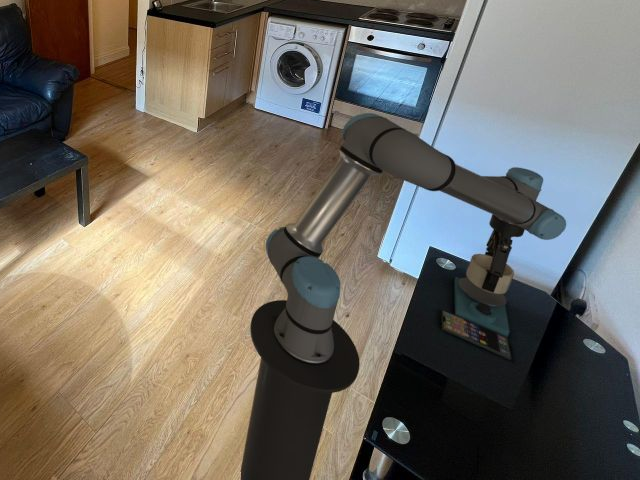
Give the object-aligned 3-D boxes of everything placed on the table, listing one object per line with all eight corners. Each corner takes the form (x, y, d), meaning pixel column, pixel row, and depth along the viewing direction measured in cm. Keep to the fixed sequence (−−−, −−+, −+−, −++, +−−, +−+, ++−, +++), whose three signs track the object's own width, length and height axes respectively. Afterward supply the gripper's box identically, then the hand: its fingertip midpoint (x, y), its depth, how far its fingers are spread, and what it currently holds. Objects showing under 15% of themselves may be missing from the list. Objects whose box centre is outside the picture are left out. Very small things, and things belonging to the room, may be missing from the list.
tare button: (490, 316, 118) (491, 312, 117) (476, 311, 119) (478, 307, 119) (489, 310, 120) (490, 306, 120) (476, 305, 122) (477, 301, 121)
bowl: (466, 284, 124) (472, 266, 122) (465, 267, 132) (471, 249, 130) (508, 300, 119) (516, 281, 117) (504, 281, 126) (512, 263, 124)
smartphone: (510, 360, 108) (512, 356, 108) (441, 330, 116) (442, 327, 116) (506, 339, 114) (507, 336, 114) (441, 312, 123) (442, 309, 122)
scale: (507, 337, 115) (511, 327, 114) (454, 315, 122) (458, 306, 121) (501, 298, 129) (504, 290, 128) (454, 281, 136) (457, 272, 134)
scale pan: (458, 294, 125) (459, 293, 125) (458, 273, 134) (458, 272, 134) (508, 313, 119) (508, 312, 119) (504, 290, 128) (504, 289, 127)
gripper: (532, 243, 107) (506, 308, 114) (521, 206, 125) (498, 265, 131) (496, 231, 112) (472, 295, 119) (489, 198, 129) (469, 255, 136)
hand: (486, 280), depth 125 cm, fingers closed on bowl, 10 cm apart
